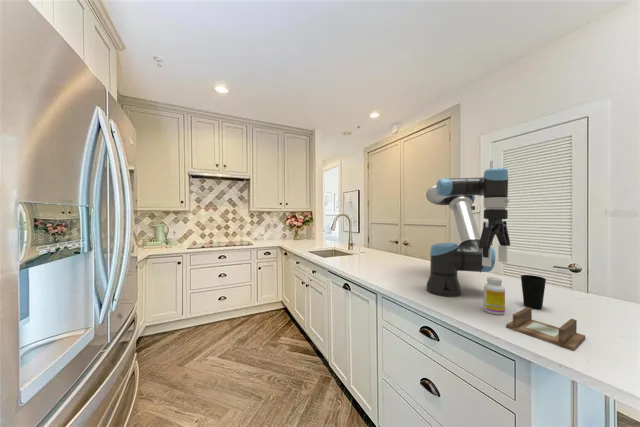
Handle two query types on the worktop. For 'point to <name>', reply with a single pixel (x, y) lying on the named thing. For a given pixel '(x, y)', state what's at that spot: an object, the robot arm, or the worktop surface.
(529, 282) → the cup
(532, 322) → the holder
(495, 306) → the supplement bottle
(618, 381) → the worktop surface
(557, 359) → the worktop surface
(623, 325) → the worktop surface
